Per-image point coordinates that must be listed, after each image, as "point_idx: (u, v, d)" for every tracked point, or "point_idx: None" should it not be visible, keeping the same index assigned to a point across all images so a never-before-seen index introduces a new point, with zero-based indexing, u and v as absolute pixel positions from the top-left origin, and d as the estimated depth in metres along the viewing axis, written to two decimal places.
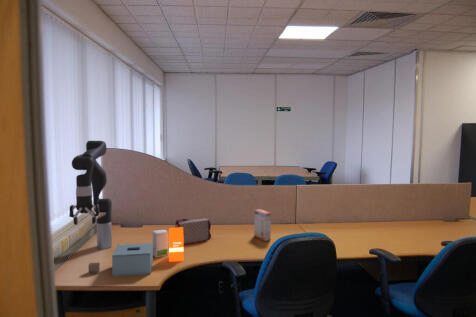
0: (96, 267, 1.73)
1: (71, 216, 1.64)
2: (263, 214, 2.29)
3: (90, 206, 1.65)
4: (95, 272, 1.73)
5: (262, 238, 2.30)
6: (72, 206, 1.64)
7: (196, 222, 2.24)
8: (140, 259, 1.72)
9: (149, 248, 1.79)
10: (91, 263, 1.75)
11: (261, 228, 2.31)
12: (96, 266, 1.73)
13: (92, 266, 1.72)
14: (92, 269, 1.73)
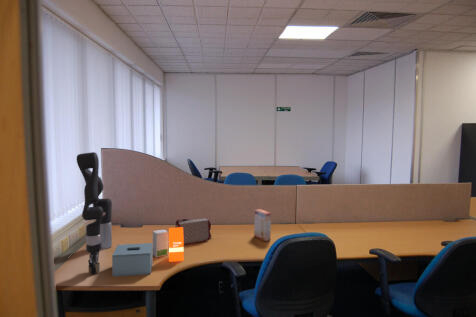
0: (96, 267, 1.73)
1: (94, 266, 1.71)
2: (263, 214, 2.29)
3: None
4: None
5: (262, 238, 2.30)
6: (92, 259, 1.68)
7: (196, 222, 2.24)
8: (140, 259, 1.72)
9: (149, 248, 1.79)
10: None
11: (261, 228, 2.31)
12: (96, 266, 1.73)
13: None
14: None
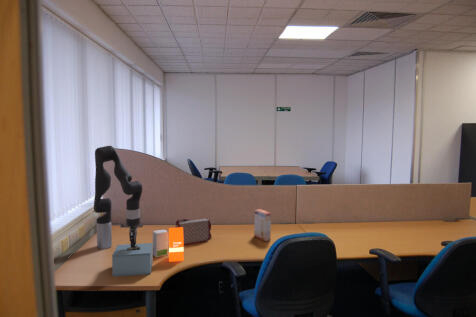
0: None
1: (134, 240, 1.74)
2: (263, 214, 2.29)
3: None
4: None
5: (262, 238, 2.30)
6: (133, 232, 1.72)
7: (196, 222, 2.23)
8: (140, 259, 1.72)
9: (149, 248, 1.79)
10: (130, 247, 1.79)
11: (261, 228, 2.31)
12: (135, 249, 1.77)
13: (131, 249, 1.77)
14: None
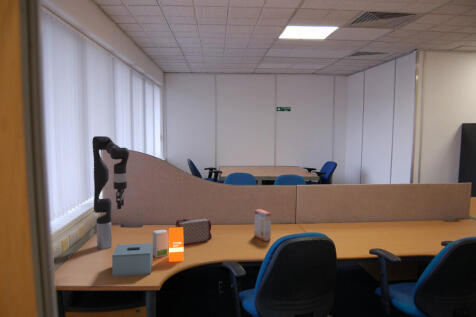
0: None
1: (120, 201, 1.82)
2: (263, 214, 2.29)
3: None
4: None
5: (262, 238, 2.30)
6: None
7: (196, 222, 2.23)
8: (140, 259, 1.72)
9: (149, 248, 1.79)
10: None
11: (261, 228, 2.31)
12: None
13: None
14: None
